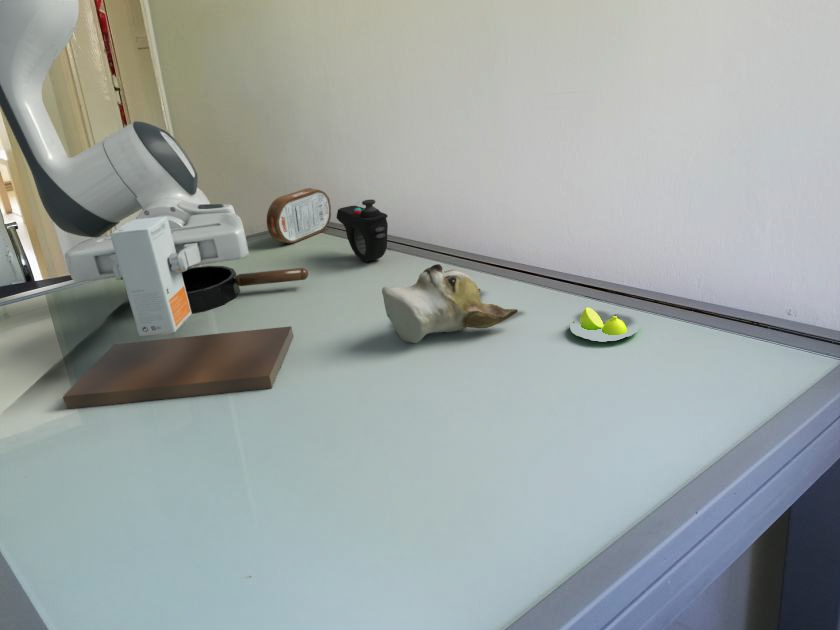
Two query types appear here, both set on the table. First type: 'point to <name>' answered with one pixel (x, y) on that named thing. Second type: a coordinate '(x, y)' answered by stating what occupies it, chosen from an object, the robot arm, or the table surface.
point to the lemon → (594, 322)
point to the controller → (365, 230)
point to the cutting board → (183, 367)
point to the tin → (298, 215)
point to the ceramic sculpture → (439, 305)
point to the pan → (228, 284)
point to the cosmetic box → (151, 275)
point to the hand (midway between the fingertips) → (149, 268)
